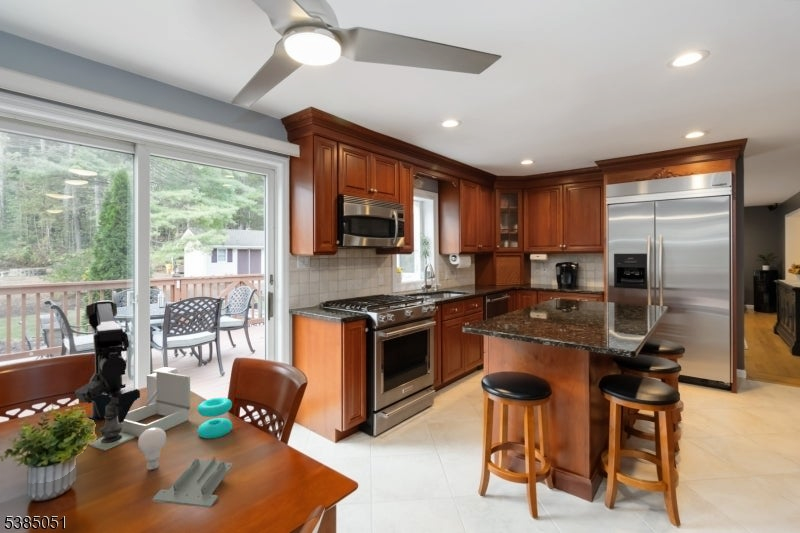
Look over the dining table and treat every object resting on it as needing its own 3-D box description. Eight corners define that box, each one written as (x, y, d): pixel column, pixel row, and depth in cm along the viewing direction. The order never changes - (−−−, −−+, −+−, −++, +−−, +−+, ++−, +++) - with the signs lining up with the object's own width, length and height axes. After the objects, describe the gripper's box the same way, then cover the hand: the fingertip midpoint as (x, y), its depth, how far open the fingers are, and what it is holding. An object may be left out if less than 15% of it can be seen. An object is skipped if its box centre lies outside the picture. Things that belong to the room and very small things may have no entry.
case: (112, 429, 125) (111, 384, 125) (159, 411, 140) (158, 370, 139) (145, 438, 119) (144, 391, 119) (190, 418, 134) (190, 376, 133)
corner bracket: (164, 396, 155) (163, 367, 155) (187, 399, 152) (186, 369, 152) (140, 406, 145) (139, 374, 144) (164, 409, 142) (163, 377, 141)
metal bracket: (188, 450, 101) (240, 455, 99) (192, 468, 103) (244, 473, 100) (146, 498, 88) (205, 505, 85) (152, 517, 89) (210, 525, 87)
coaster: (87, 444, 115) (87, 442, 115) (117, 432, 123) (117, 431, 123) (105, 450, 112) (105, 448, 112) (134, 437, 120) (134, 435, 120)
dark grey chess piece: (105, 445, 114) (104, 405, 113) (95, 440, 116) (95, 401, 116) (127, 437, 119) (126, 399, 118) (117, 432, 122) (117, 395, 121)
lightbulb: (172, 465, 104) (171, 425, 104) (150, 477, 98) (149, 435, 98) (155, 460, 106) (154, 421, 106) (132, 473, 100) (131, 431, 100)
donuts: (216, 394, 130) (238, 398, 126) (216, 423, 130) (239, 428, 126) (190, 405, 120) (213, 410, 117) (190, 436, 121) (214, 442, 117)
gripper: (60, 373, 113) (61, 425, 113) (100, 381, 106) (101, 437, 106) (102, 363, 123) (103, 411, 124) (140, 370, 116) (141, 421, 117)
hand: (111, 419), depth 117 cm, fingers open, 9 cm apart
